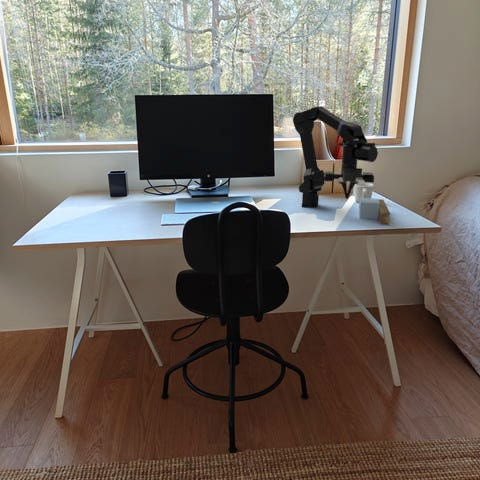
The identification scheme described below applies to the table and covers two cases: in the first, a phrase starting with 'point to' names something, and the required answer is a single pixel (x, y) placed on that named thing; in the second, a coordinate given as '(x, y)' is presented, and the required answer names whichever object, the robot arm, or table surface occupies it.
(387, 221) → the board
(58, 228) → the table surface
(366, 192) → the cup
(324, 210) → the table surface
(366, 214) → the block
